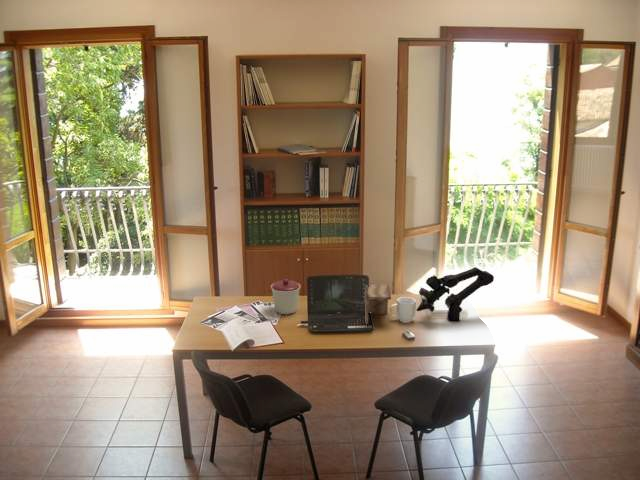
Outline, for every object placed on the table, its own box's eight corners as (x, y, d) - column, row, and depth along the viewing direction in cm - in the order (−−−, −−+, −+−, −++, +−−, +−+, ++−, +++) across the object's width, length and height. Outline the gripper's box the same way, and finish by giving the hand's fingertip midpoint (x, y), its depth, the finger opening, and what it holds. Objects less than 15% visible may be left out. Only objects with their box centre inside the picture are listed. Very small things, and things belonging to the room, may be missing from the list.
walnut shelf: (387, 312, 371) (388, 284, 366) (389, 326, 352) (390, 297, 347) (364, 312, 372) (365, 284, 367) (365, 326, 353) (366, 296, 347)
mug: (390, 324, 356) (391, 303, 352) (389, 316, 366) (389, 296, 363) (415, 324, 355) (416, 304, 351) (413, 317, 366) (414, 297, 362)
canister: (302, 306, 381) (302, 274, 375) (298, 317, 364) (298, 284, 358) (274, 304, 383) (273, 273, 377) (268, 316, 365) (268, 283, 359)
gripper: (425, 278, 362) (406, 295, 366) (430, 290, 345) (409, 307, 348) (438, 291, 365) (418, 307, 368) (443, 303, 347) (422, 320, 350)
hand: (417, 310), depth 358 cm, fingers closed
